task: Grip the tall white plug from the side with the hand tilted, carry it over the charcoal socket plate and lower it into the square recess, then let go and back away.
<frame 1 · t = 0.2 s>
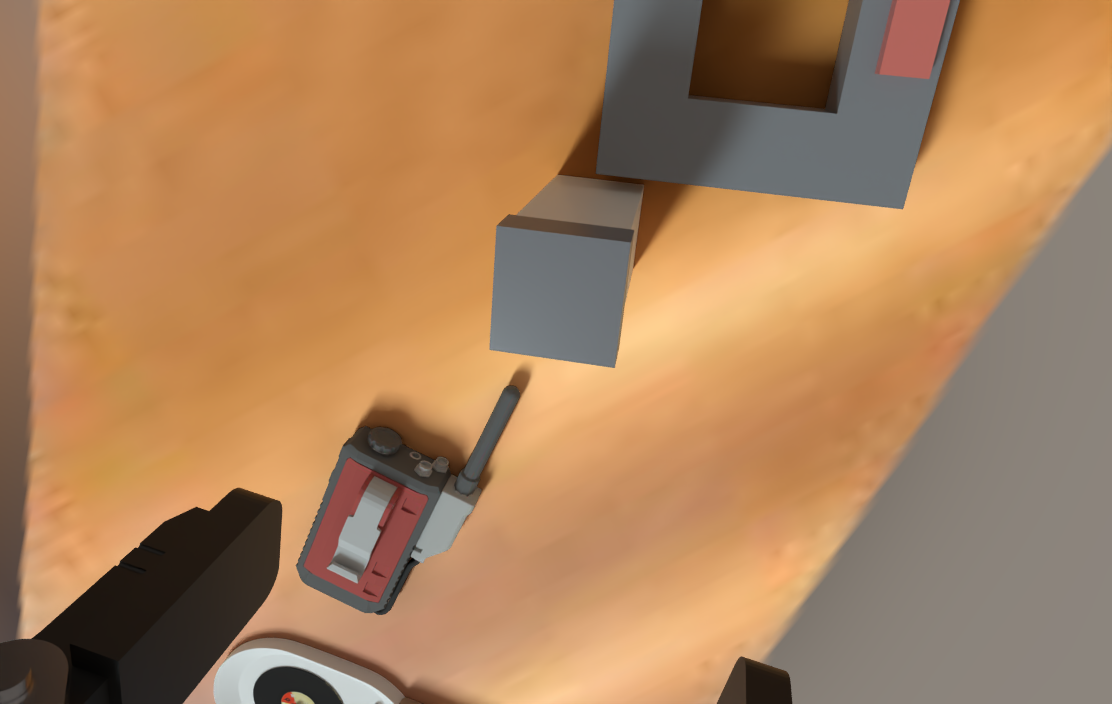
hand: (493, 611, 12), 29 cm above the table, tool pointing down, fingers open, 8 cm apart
socket: (769, 27, 34), on the table
walkie-talkie: (411, 477, 48), on the table
plug: (595, 222, 39), on the table
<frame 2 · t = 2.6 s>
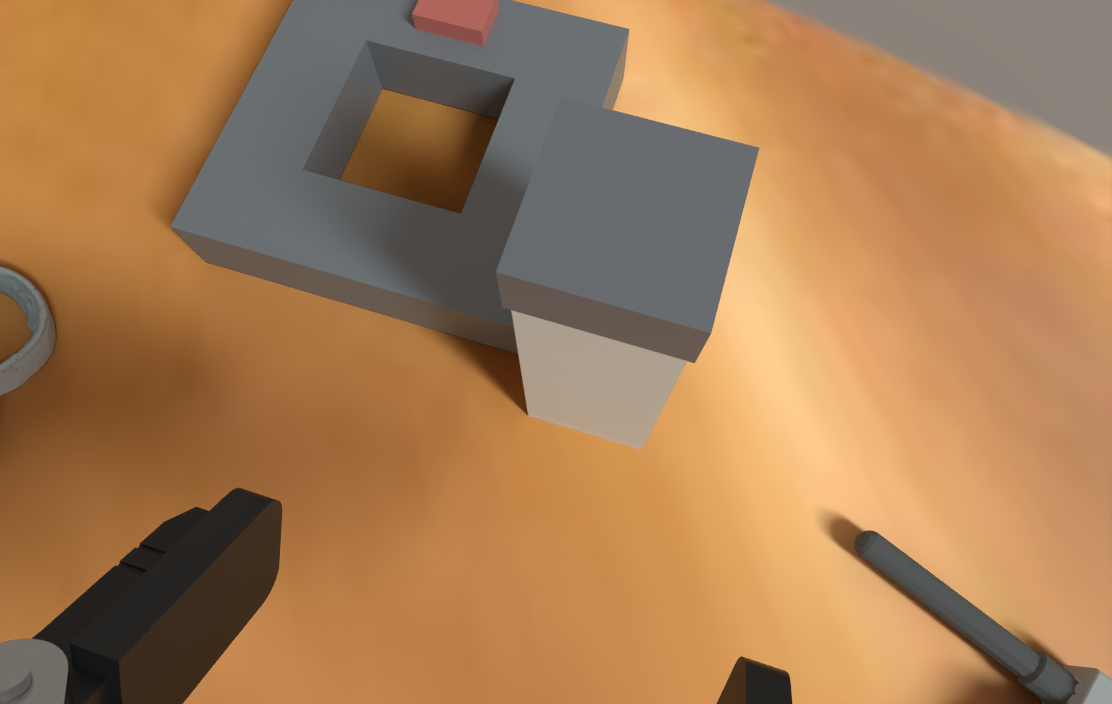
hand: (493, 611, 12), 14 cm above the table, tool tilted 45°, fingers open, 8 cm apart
socket: (424, 165, 32), on the table
plug: (600, 378, 29), on the table
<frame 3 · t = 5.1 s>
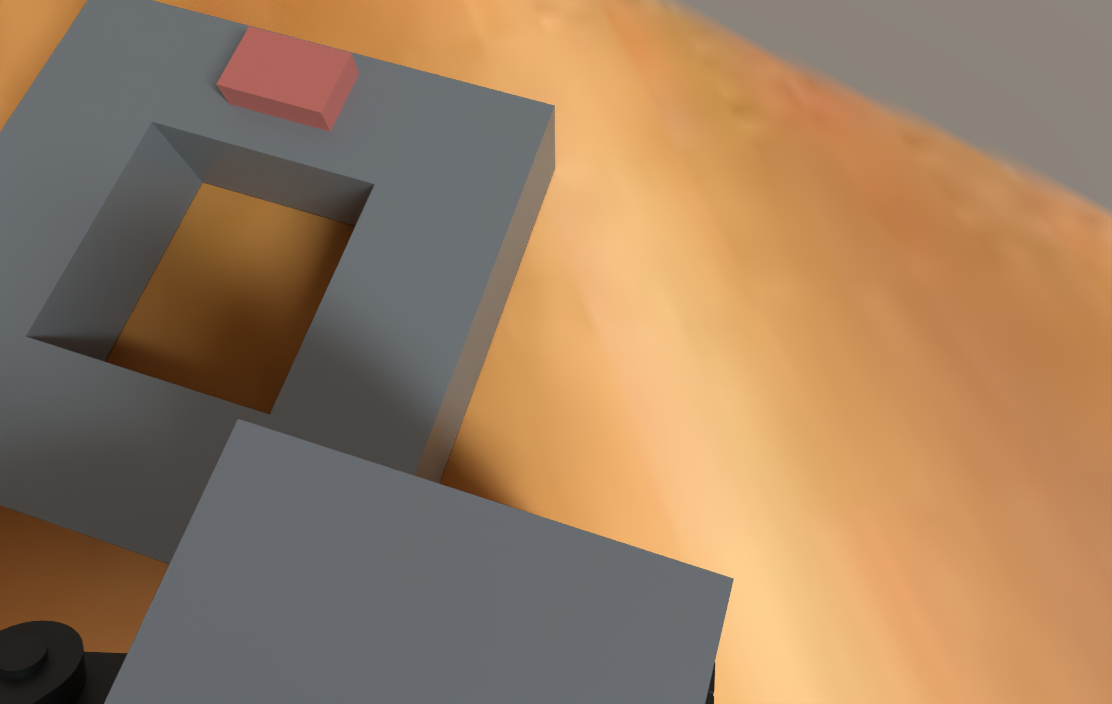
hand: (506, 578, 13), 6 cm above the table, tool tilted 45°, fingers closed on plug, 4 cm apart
socket: (253, 303, 21), on the table
plug: (499, 665, 18), on the table, touching gripper
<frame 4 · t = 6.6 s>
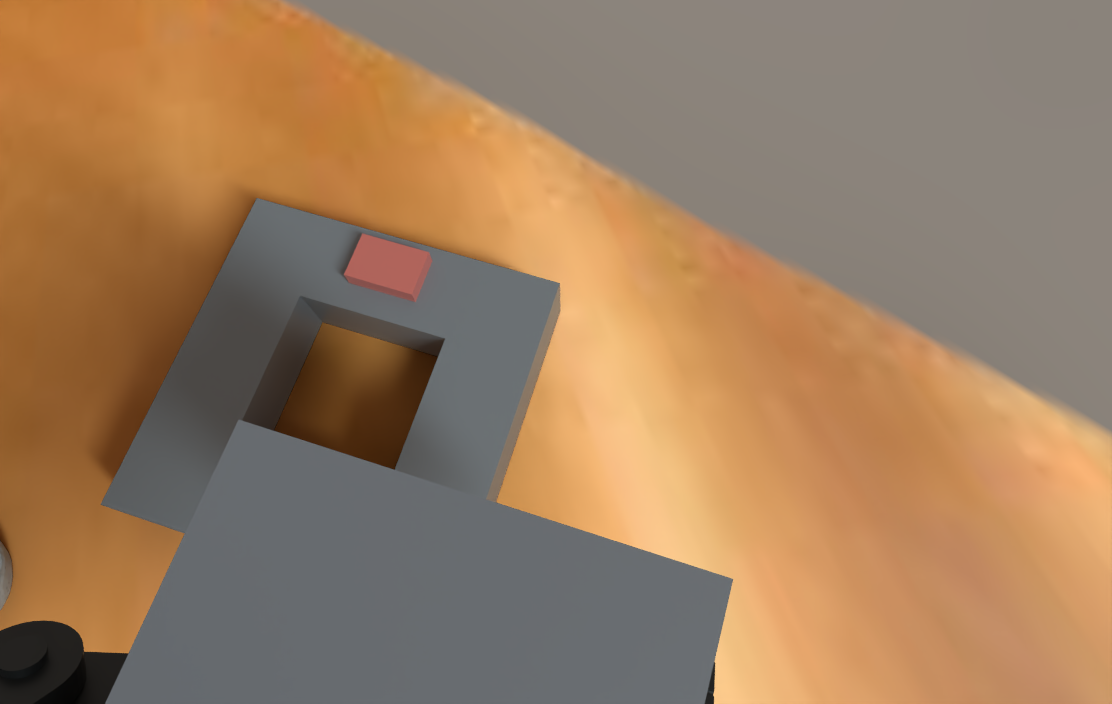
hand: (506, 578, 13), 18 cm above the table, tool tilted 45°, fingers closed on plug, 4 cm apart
socket: (360, 408, 32), on the table
plug: (499, 665, 18), point 12 cm above the table, touching gripper
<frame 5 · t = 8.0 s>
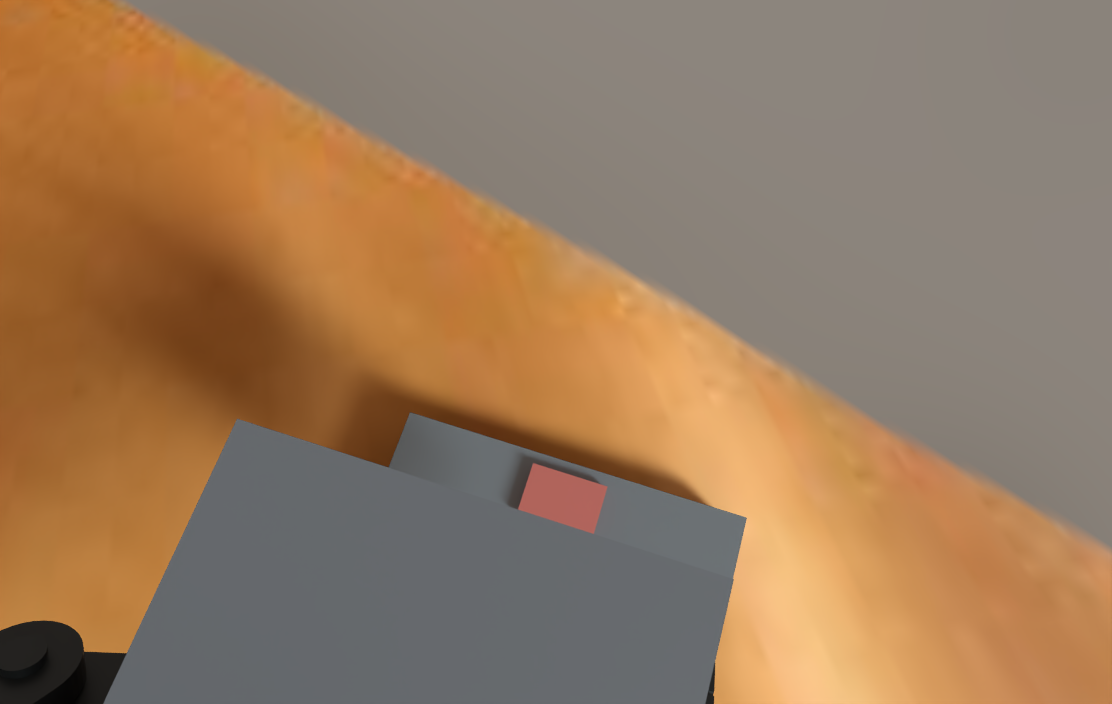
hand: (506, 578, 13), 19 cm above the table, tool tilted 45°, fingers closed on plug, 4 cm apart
socket: (522, 640, 30), on the table
plug: (499, 665, 18), point 12 cm above the table, touching gripper
when the fingers open (7 cm above the table, at t = 10.9 s): plug stays where it is, resting in socket.
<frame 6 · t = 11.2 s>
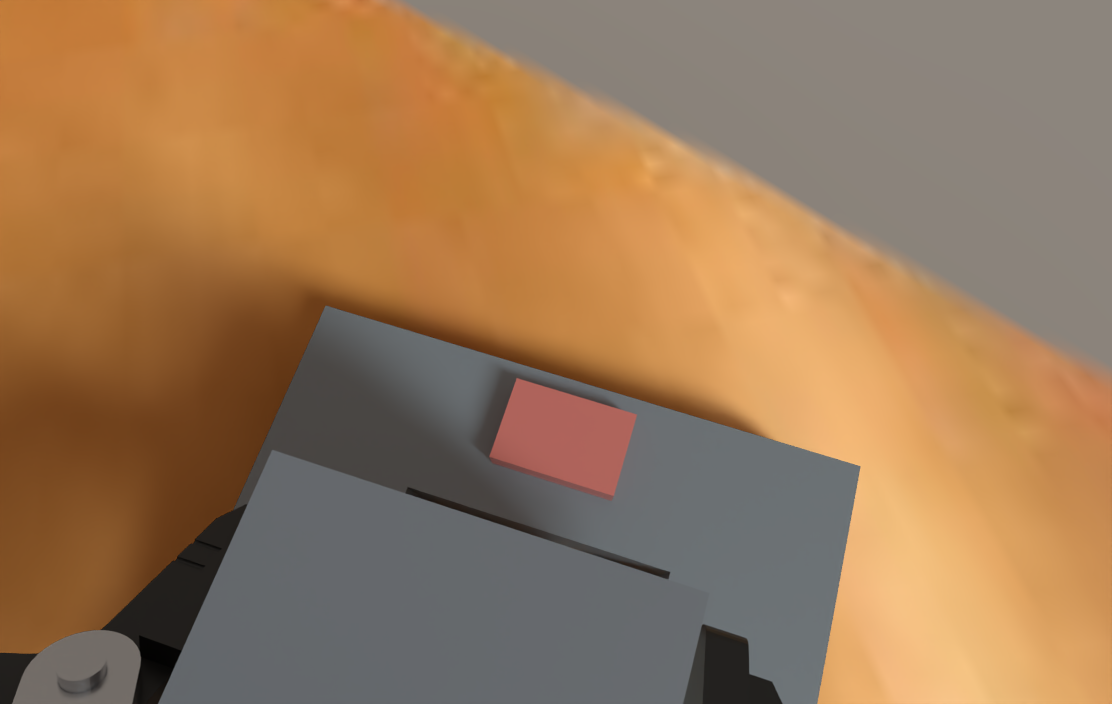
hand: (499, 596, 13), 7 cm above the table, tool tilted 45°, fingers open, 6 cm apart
socket: (501, 662, 19), on the table
plug: (501, 665, 19), resting in socket
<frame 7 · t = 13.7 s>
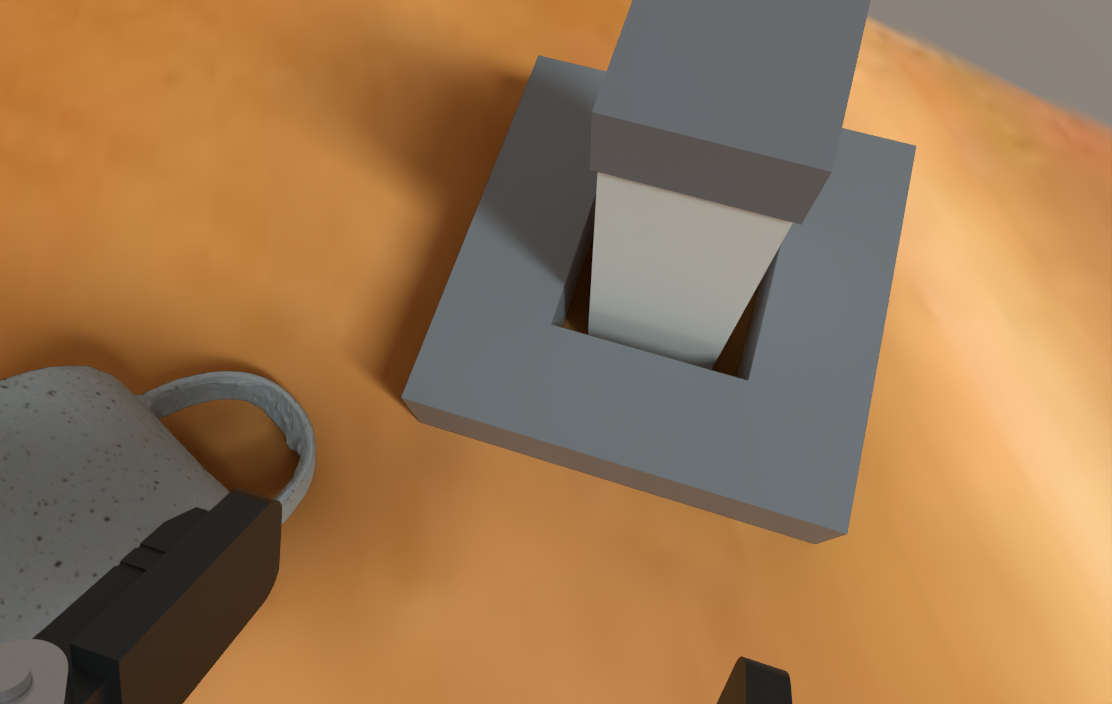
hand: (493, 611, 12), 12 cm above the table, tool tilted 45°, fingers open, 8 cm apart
socket: (662, 301, 27), on the table
ceramic mug: (183, 522, 25), on the table
plug: (663, 303, 27), resting in socket
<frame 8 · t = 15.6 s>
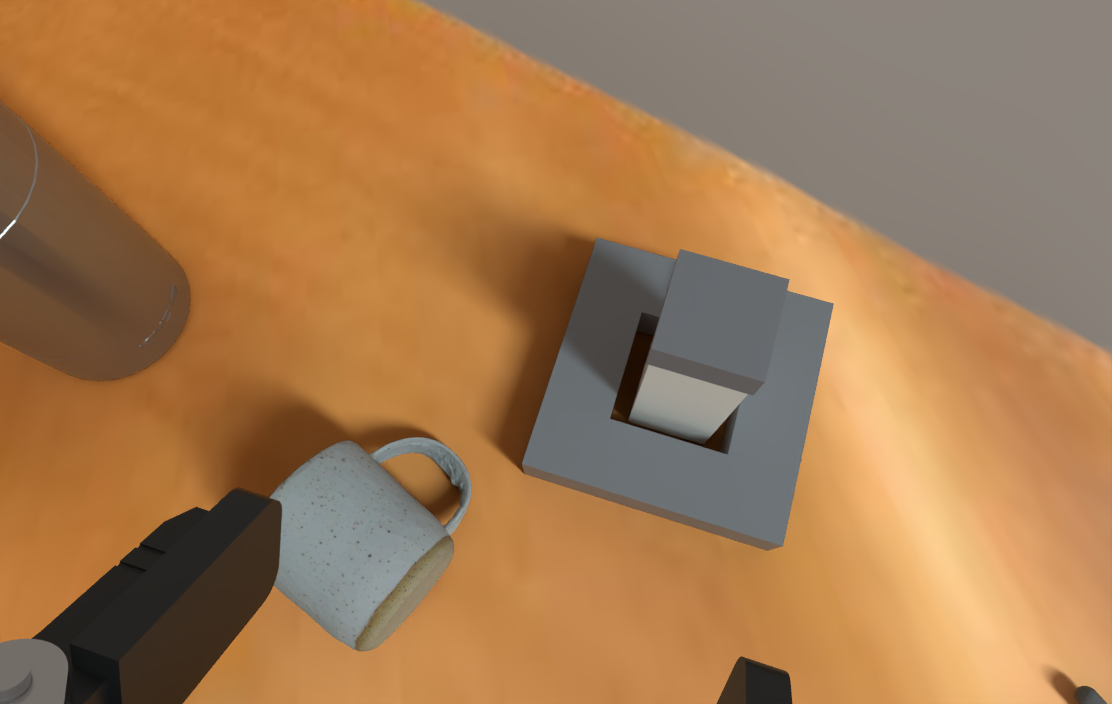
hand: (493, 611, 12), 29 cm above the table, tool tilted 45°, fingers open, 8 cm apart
socket: (675, 395, 43), on the table
ceramic mug: (386, 529, 41), on the table
plug: (675, 397, 43), resting in socket
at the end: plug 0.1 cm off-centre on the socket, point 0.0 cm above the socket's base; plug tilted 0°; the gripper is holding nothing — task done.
